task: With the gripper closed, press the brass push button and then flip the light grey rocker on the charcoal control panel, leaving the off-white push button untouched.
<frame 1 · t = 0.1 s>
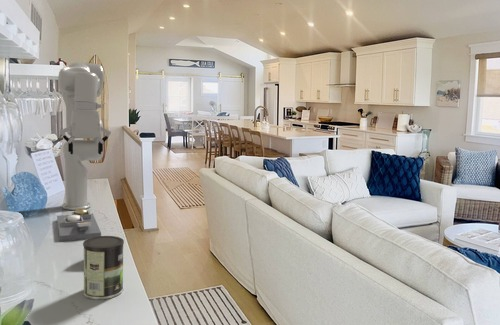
hand: (85, 153, 155), 31 cm above the counter, tool pointing down, fingers open, 9 cm apart
coffee can: (103, 291, 115), on the counter
ceramic mug: (100, 261, 136), on the counter
white button: (73, 218, 166), point 4 cm above the counter, slide at 0.0 cm
brass button: (81, 211, 175), point 4 cm above the counter, slide at 0.0 cm
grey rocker: (84, 224, 159), point 4 cm above the counter, hinge at -14.0°
control panel: (77, 228, 167), on the counter
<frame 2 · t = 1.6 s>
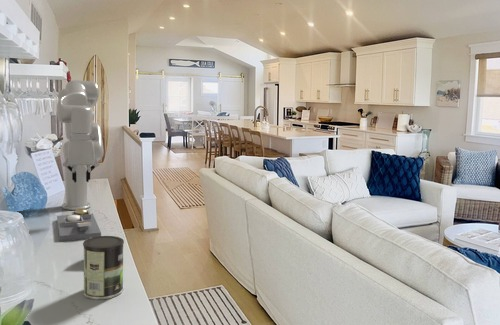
hand: (81, 181, 174), 17 cm above the counter, tool pointing down, fingers open, 4 cm apart
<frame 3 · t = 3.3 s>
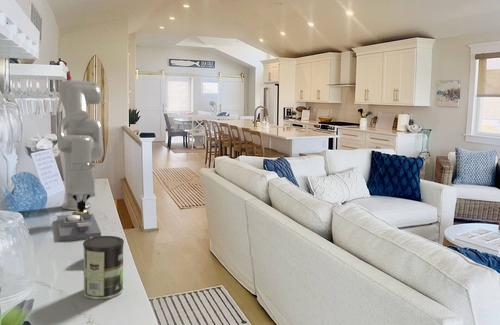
hand: (81, 210, 175), 5 cm above the counter, tool pointing down, fingers closed
brass button: (81, 212, 175), point 4 cm above the counter, slide at 0.2 cm, touching gripper
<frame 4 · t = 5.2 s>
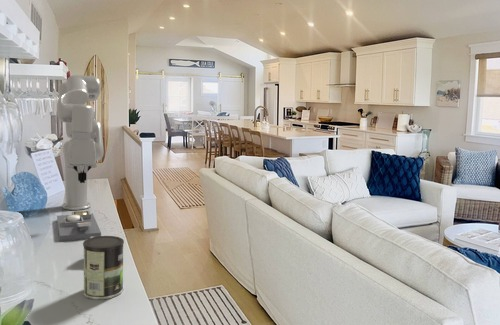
hand: (82, 182, 168), 18 cm above the counter, tool pointing down, fingers closed
brass button: (81, 214, 176), point 3 cm above the counter, slide at 1.2 cm
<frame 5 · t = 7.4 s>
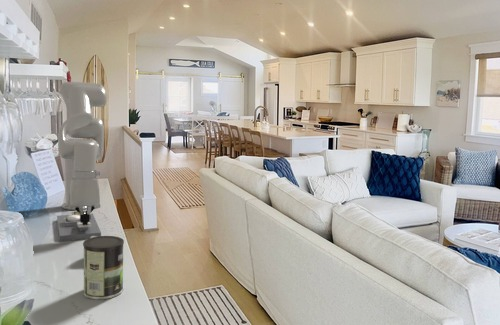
hand: (84, 224, 156), 5 cm above the counter, tool pointing down, fingers closed
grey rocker: (84, 224, 159), point 4 cm above the counter, hinge at -10.3°, touching gripper
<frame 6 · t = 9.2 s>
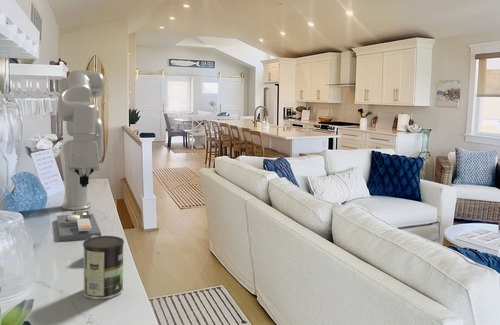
hand: (84, 186, 158), 19 cm above the counter, tool pointing down, fingers closed
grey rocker: (84, 224, 159), point 4 cm above the counter, hinge at 7.7°
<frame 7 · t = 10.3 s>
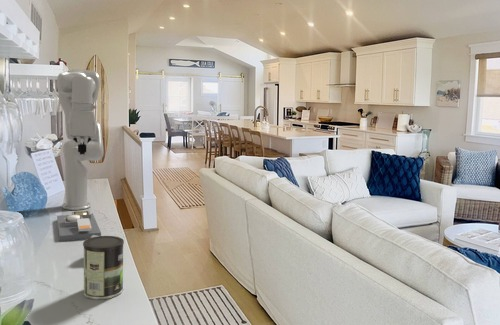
hand: (82, 154, 169), 29 cm above the counter, tool pointing down, fingers closed
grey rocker: (84, 224, 159), point 4 cm above the counter, hinge at 8.6°
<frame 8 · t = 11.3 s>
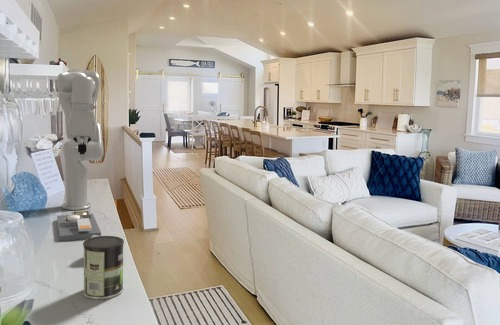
hand: (82, 154, 169), 29 cm above the counter, tool pointing down, fingers closed
at the end: brass button slide at 1.2 cm; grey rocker at +9° (first picture: -14°); white button slide at 0.0 cm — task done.
